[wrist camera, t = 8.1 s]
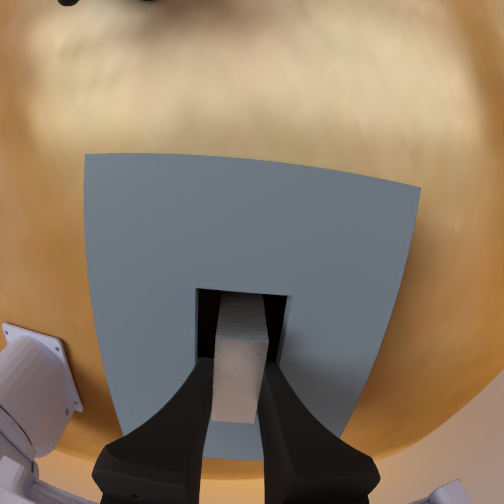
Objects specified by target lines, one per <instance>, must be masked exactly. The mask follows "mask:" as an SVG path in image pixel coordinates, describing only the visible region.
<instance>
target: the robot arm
mask: <svg viewBox="0 0 504 504" xmlns="http://www.w3.org/2000/svg"><path fill="white" fill-rule="evenodd" d="M2 327H3V331H4V334H5V337H6V340H7V343H8V345H7V346H6V347H5V348H4V349H3V350H2V351H1V352H0V504H98V503H95V502H92V501H89V500H86V499H84V498H81V497H78V496H76V495H73V494H70V493H68V492H66V491H63V490H61V489H59V488H56V487H54V486H52V485H50V484H48V483H46V482H43V481H41V480H39V469H38V465H37V464H36V462H35V461H34V458H40V457H43V456H46V455H48V454H49V453H50V452H52V451H53V450H54V449H55V447H56V446H57V444H58V442H59V440H60V438H61V436H62V434H63V432H64V430H65V428H66V426H67V424H68V422H69V421H70V419H71V417H72V415H73V413H74V411H78V412H82V411H83V410H84V408H83V405H82V403H81V400H80V398H79V395H78V392H77V389H76V386H75V383H74V381H73V378H72V374H71V371H70V368H69V365H68V362H67V358H66V355H65V351H64V348H63V344H62V342H61V340H59V339H58V338H55V337H51V336H47V335H44V334H40V333H37V332H34V331H30V330H27V329H24V328H21V327H18V326H15V325H11V324H9V323H4V324H3V325H2ZM213 376H214V358H206V357H200V358H198V360H197V362H196V364H195V366H194V368H193V370H192V371H191V373H190V374H189V376H188V377H187V379H186V380H185V382H184V383H183V384H182V386H181V387H180V388H179V390H178V391H177V392H176V393H175V394H174V396H173V397H172V398H171V399H170V400H169V401H168V402H167V403H166V404H165V405H164V406H163V407H162V408H161V409H160V410H159V411H158V412H157V413H156V414H155V415H153V416H152V417H151V418H150V419H149V420H147V421H146V422H145V423H143V424H142V425H141V426H139V427H138V428H136V429H135V430H133V431H132V432H130V433H128V434H127V435H125V436H123V437H121V438H119V439H117V440H115V441H113V442H111V443H109V444H107V445H105V447H104V448H103V450H102V451H101V453H100V455H99V457H98V458H97V461H96V463H95V466H94V469H93V472H92V478H93V480H94V481H95V483H96V484H97V485H98V487H99V488H100V490H101V491H102V493H103V496H102V499H101V502H100V504H199V492H200V479H201V467H202V456H203V450H204V444H205V440H206V435H207V430H208V425H209V420H210V416H211V411H212V398H213ZM257 413H258V420H259V427H260V434H261V441H262V448H263V456H264V484H265V504H369V499H368V494H369V493H370V492H371V491H372V490H373V489H374V488H375V487H376V486H377V484H378V483H379V481H380V475H379V472H378V469H377V467H376V465H375V463H374V461H373V459H372V457H370V456H368V455H366V454H364V453H362V452H360V451H358V450H356V449H354V448H353V447H351V446H350V445H348V444H347V443H345V442H343V441H342V440H341V439H339V438H338V437H337V436H335V435H334V434H333V433H332V432H330V431H329V430H328V429H327V428H326V427H324V426H323V425H322V424H321V423H320V422H319V421H318V420H317V419H316V418H315V417H314V416H313V415H312V414H311V412H310V411H309V410H308V409H307V408H306V407H305V405H304V404H303V403H302V402H301V400H300V399H299V398H298V396H297V395H296V393H295V392H294V390H293V389H292V387H291V386H290V384H289V383H288V381H287V380H286V378H285V376H284V374H283V373H282V371H281V369H280V367H279V365H278V364H277V363H276V362H265V367H264V373H263V378H262V383H261V389H260V394H259V399H258V405H257ZM409 504H472V503H471V501H470V499H469V497H468V495H467V493H466V491H465V489H464V487H463V485H462V483H461V481H460V479H457V480H455V481H452V482H450V483H448V484H445V485H443V486H441V487H439V488H437V489H436V490H434V491H433V492H432V493H431V494H430V495H429V496H428V497H426V498H423V499H420V500H418V501H415V502H412V503H409Z"/></svg>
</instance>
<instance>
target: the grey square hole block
mask: <svg viewBox="0 0 504 504" xmlns="http://www.w3.org/2000/svg"><path fill="white" fill-rule="evenodd" d="M420 191H421V188H420V187H416V186H411V185H407V184H403V183H398V182H394V181H389V180H384V179H379V178H374V177H369V176H364V175H359V174H353V173H347V172H342V171H336V170H330V169H323V168H317V167H310V166H303V165H296V164H288V163H280V162H271V161H262V160H252V159H242V158H230V157H217V156H202V155H183V154H152V153H107V154H85V167H84V226H85V245H86V258H87V269H88V279H89V287H90V295H91V303H92V309H93V316H94V322H95V327H96V333H97V338H98V343H99V348H100V353H101V358H102V362H103V366H104V370H105V375H106V379H107V382H108V386H109V390H110V394H111V397H112V401H113V404H114V408H115V411H116V414H117V417H118V420H119V423H120V427H121V429H122V432H123V435H124V436H125V435H127V434H128V433H130V432H132V431H133V430H135V429H136V428H138V427H139V426H141V425H142V424H143V423H145V422H146V421H147V420H149V419H150V418H151V417H152V416H153V415H155V414H156V413H157V412H158V411H159V410H160V409H161V408H162V407H163V406H164V405H165V404H166V403H167V402H168V401H169V400H170V399H171V398H172V397H173V396H174V394H175V393H176V392H177V391H178V390H179V388H180V387H181V386H182V384H183V383H184V382H185V380H186V379H187V377H188V376H189V374H190V373H191V371H192V370H193V368H194V366H195V364H196V362H197V340H198V291H199V288H203V289H213V290H224V291H236V292H248V293H261V294H274V295H288V296H287V302H286V308H285V314H284V320H283V325H282V331H281V337H280V342H279V348H278V353H277V358H276V363H277V364H278V365H279V367H280V369H281V371H282V373H283V374H284V376H285V378H286V380H287V381H288V383H289V384H290V386H291V387H292V389H293V390H294V392H295V393H296V395H297V396H298V398H299V399H300V400H301V402H302V403H303V404H304V405H305V407H306V408H307V409H308V410H309V411H310V412H311V414H312V415H313V416H314V417H315V418H316V419H317V420H318V421H319V422H320V423H321V424H322V425H323V426H324V427H326V428H327V429H328V430H329V431H330V432H332V433H333V434H334V435H335V436H337V437H338V438H340V436H341V434H342V433H343V431H344V429H345V427H346V425H347V423H348V421H349V419H350V417H351V414H352V412H353V410H354V408H355V406H356V404H357V402H358V399H359V397H360V395H361V393H362V390H363V388H364V386H365V384H366V381H367V379H368V376H369V374H370V372H371V369H372V367H373V364H374V362H375V359H376V356H377V354H378V351H379V348H380V346H381V343H382V340H383V337H384V335H385V332H386V329H387V326H388V323H389V320H390V317H391V314H392V311H393V307H394V304H395V301H396V298H397V294H398V291H399V287H400V284H401V280H402V276H403V273H404V269H405V265H406V261H407V257H408V253H409V248H410V244H411V240H412V235H413V230H414V225H415V220H416V215H417V209H418V204H419V198H420ZM202 457H206V458H217V459H231V460H257V461H264V456H263V448H262V441H261V434H260V427H259V420H258V413H257V410H256V415H255V420H254V424H252V423H234V422H221V421H212V411H211V416H210V420H209V425H208V430H207V435H206V440H205V444H204V450H203V456H202Z"/></svg>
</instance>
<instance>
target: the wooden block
mask: <svg viewBox="0 0 504 504" xmlns="http://www.w3.org/2000/svg"><path fill="white" fill-rule="evenodd" d="M268 344H269V340H268V333H267V325H266V317H265V310H264V302H263V295H262V294H261V293H248V292H236V291H224V290H222V297H221V304H220V311H219V317H218V324H217V331H216V338H215V356H214V376H213V398H212V421H221V422H234V423H252V424H254V420H255V415H256V410H257V405H258V399H259V394H260V389H261V383H262V378H263V373H264V367H265V361H266V356H267V350H268Z"/></svg>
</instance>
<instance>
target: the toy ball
mask: <svg viewBox="0 0 504 504" xmlns="http://www.w3.org/2000/svg"><path fill="white" fill-rule="evenodd" d="M78 1H79V0H58V2H59V3H60V4H61V5H62V6H73V5H75V4H76V3H77V2H78ZM143 1H153V0H143Z"/></svg>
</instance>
